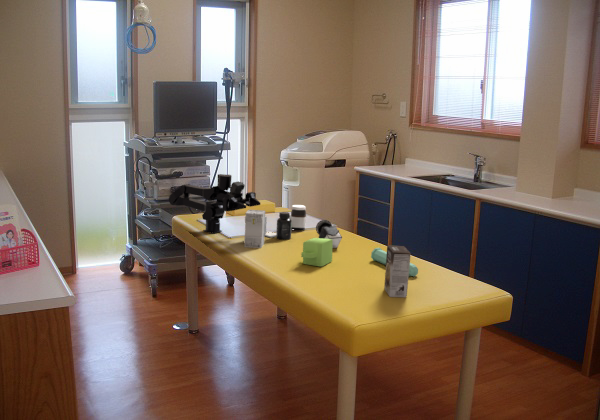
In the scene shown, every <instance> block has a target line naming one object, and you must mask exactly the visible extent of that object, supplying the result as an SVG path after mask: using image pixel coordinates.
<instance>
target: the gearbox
mask: <svg viewBox="0 0 600 420" xmlns="http://www.w3.org/2000/svg"><path fill="white" fill-rule="evenodd" d="M332 244H333V240H332V239H324V238H319V237H313V238H310V239H307V240H305V241H304V242H302V246H303V247H302V252H301V253H300V255H301V258H302V264H304V265H309V266H314V267H324V266H325V265H328V264H329V263H331V262H332V261H333V248H332Z"/></svg>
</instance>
